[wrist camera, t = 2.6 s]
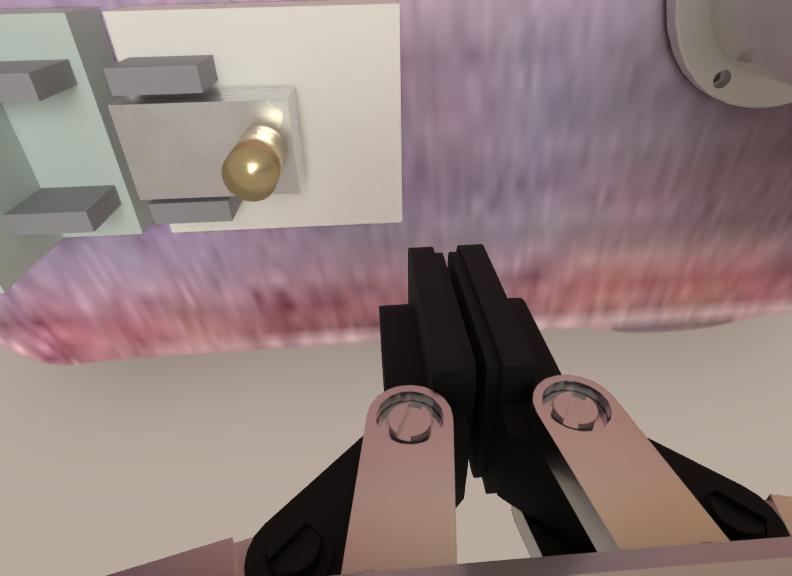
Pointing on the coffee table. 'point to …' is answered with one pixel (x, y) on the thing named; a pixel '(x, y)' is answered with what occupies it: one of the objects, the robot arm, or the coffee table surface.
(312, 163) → the door board
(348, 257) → the coffee table surface
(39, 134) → the door jamb
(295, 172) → the bolt
